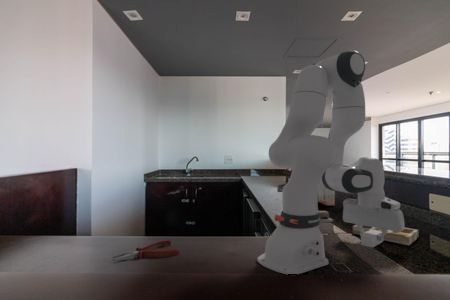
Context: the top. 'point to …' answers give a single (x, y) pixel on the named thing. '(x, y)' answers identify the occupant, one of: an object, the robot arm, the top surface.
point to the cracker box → (325, 195)
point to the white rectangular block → (370, 238)
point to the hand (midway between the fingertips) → (371, 238)
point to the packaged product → (324, 216)
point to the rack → (393, 234)
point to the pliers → (149, 252)
